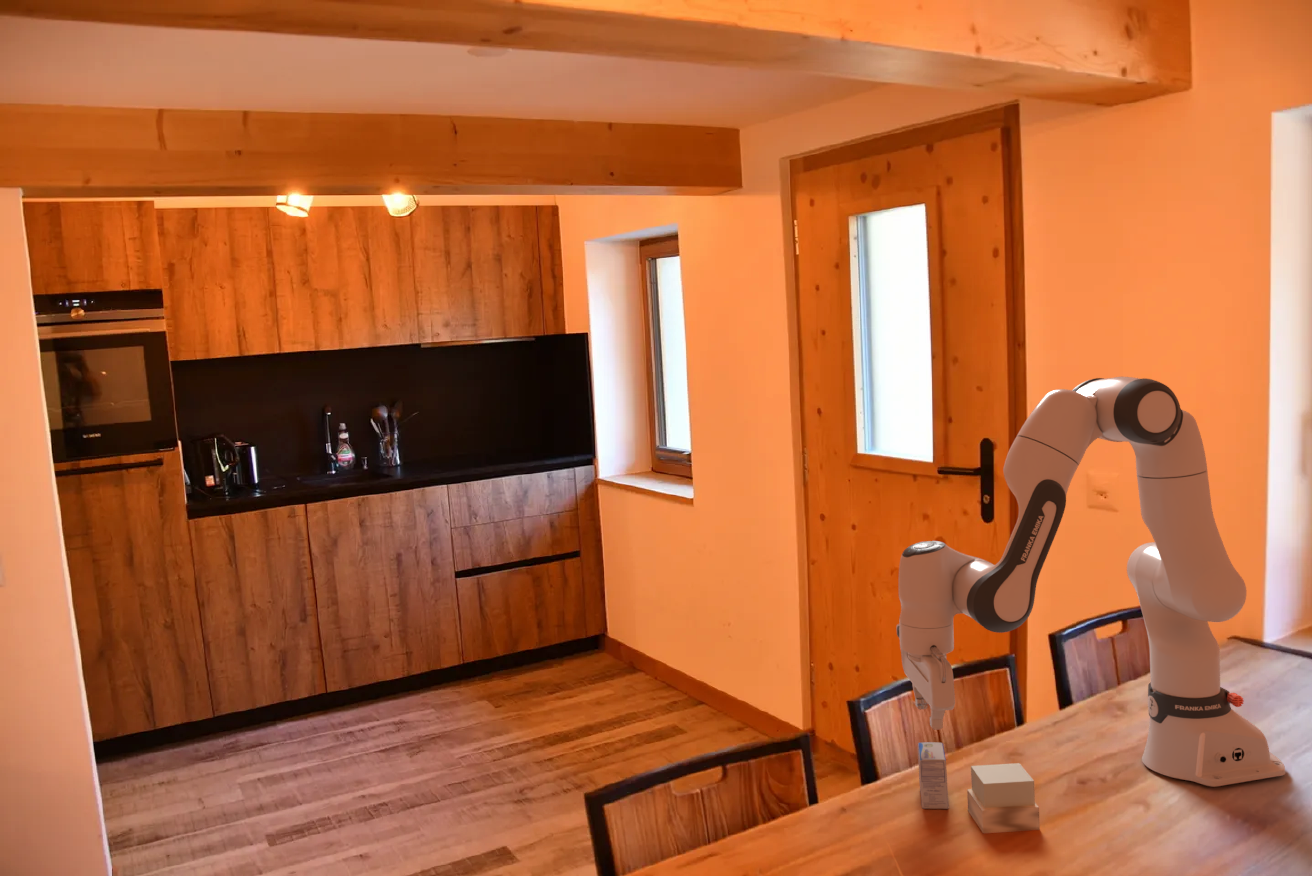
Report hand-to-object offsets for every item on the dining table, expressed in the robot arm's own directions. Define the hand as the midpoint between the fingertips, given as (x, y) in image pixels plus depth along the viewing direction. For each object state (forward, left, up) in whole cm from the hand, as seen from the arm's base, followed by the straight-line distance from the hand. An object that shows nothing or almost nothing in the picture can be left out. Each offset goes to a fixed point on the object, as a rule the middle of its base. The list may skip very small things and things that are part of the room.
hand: (928, 717), depth 178 cm
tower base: (-9, +9, -15) cm, 20 cm away
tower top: (-9, +9, -11) cm, 17 cm away
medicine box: (0, 0, -15) cm, 15 cm away
